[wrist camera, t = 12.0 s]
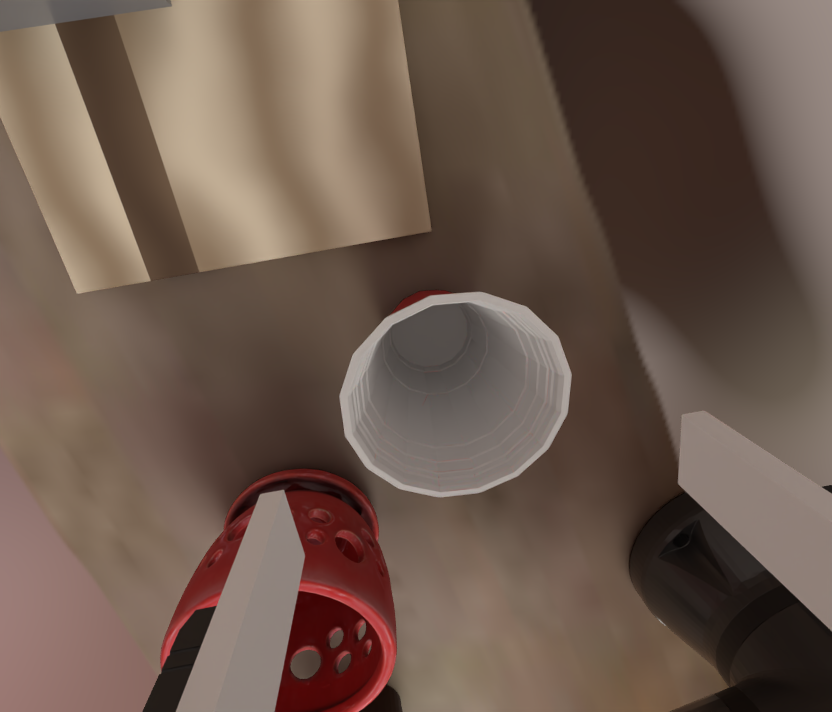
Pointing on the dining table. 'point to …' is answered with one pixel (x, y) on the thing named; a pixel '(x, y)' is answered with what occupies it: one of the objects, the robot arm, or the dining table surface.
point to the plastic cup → (455, 393)
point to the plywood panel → (214, 134)
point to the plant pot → (316, 590)
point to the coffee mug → (385, 702)
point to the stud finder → (66, 10)
